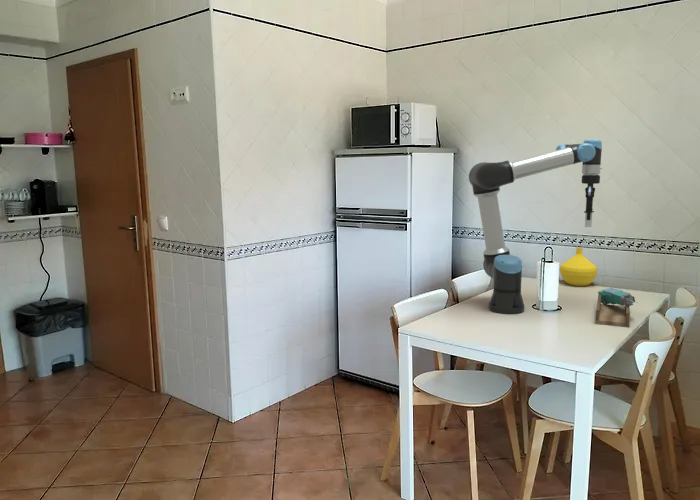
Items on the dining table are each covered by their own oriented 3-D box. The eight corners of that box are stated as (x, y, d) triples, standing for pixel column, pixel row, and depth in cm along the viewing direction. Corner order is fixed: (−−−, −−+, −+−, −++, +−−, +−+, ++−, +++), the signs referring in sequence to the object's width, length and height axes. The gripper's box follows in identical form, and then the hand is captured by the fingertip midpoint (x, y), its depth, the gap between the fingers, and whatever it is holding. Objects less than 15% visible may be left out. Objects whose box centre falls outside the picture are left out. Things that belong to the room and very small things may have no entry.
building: (614, 300, 244) (646, 310, 214) (601, 304, 244) (630, 314, 215) (611, 287, 244) (642, 295, 214) (597, 291, 244) (626, 299, 214)
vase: (563, 287, 281) (564, 250, 278) (556, 280, 299) (557, 245, 296) (601, 288, 278) (603, 251, 275) (591, 280, 296) (593, 245, 293)
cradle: (595, 323, 218) (596, 310, 217) (597, 306, 243) (598, 294, 242) (628, 327, 213) (629, 313, 212) (627, 309, 238) (628, 297, 237)
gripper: (599, 175, 238) (596, 228, 242) (600, 174, 250) (597, 225, 253) (581, 175, 241) (578, 228, 245) (582, 174, 253) (580, 225, 257)
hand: (588, 226), depth 249 cm, fingers closed
